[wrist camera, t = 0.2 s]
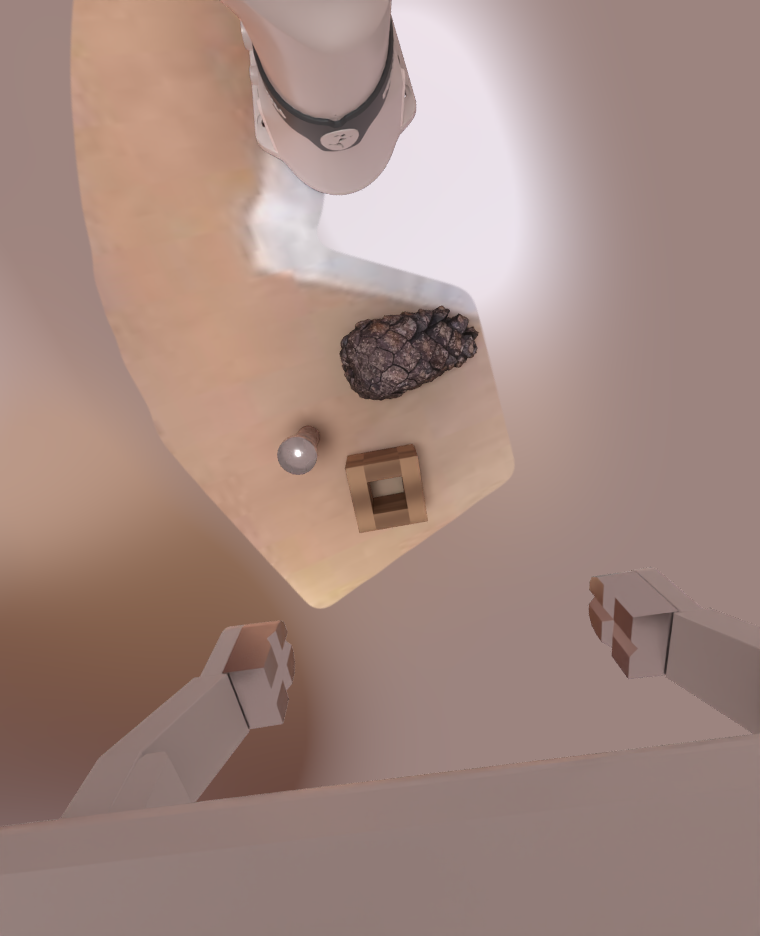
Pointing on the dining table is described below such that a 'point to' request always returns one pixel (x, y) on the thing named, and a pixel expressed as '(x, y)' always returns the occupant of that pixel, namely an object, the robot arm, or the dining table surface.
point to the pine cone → (404, 351)
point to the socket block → (389, 507)
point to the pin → (299, 451)
